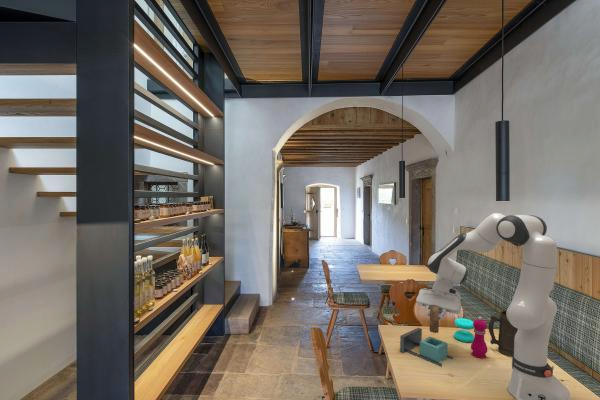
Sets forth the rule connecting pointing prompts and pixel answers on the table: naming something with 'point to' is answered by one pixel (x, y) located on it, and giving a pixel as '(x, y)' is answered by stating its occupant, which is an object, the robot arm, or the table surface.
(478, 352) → the pepper mill
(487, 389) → the table surface
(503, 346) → the beer stein
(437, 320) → the dowel
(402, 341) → the track
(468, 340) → the donuts
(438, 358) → the socket block
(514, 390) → the robot arm
